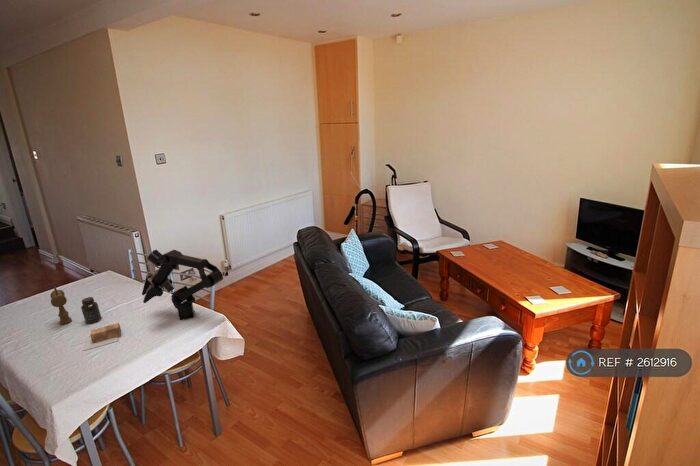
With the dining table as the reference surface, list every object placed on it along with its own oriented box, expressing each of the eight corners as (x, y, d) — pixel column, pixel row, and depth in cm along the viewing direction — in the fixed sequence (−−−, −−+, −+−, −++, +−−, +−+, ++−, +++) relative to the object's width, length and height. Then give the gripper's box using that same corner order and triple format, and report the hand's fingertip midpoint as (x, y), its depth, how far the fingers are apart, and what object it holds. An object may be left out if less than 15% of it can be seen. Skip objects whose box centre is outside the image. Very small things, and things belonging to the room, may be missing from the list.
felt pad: (118, 328, 175) (118, 328, 175) (118, 341, 165) (117, 340, 165) (85, 337, 169) (85, 336, 169) (83, 351, 159) (83, 350, 159)
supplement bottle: (105, 316, 186) (99, 295, 182) (94, 324, 179) (88, 302, 176) (92, 316, 187) (86, 295, 183) (82, 324, 180) (75, 302, 176)
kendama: (59, 328, 177) (47, 291, 170) (57, 320, 184) (45, 284, 177) (74, 323, 181) (62, 287, 174) (72, 316, 187) (61, 281, 181)
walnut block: (119, 322, 171) (90, 330, 166) (118, 327, 167) (89, 335, 162) (121, 331, 172) (93, 338, 167) (121, 335, 169) (92, 343, 164)
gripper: (181, 287, 175) (160, 314, 173) (176, 273, 190) (156, 297, 189) (160, 276, 169) (138, 304, 167) (156, 262, 184) (136, 288, 182)
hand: (143, 298), depth 176 cm, fingers open, 9 cm apart
